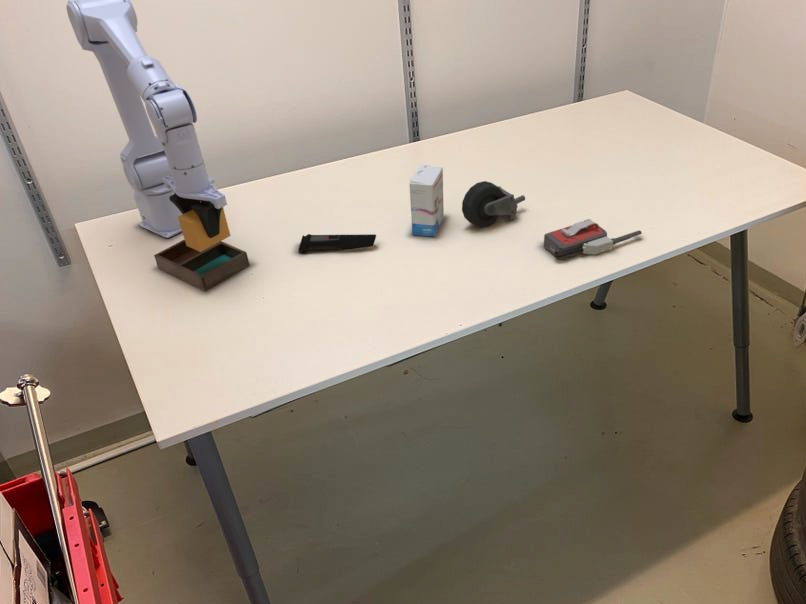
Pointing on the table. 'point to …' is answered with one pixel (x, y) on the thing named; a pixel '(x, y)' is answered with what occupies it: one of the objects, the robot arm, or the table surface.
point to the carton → (201, 231)
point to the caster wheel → (488, 204)
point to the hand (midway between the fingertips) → (206, 232)
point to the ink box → (426, 200)
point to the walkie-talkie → (581, 240)
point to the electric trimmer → (336, 242)
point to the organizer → (202, 263)
